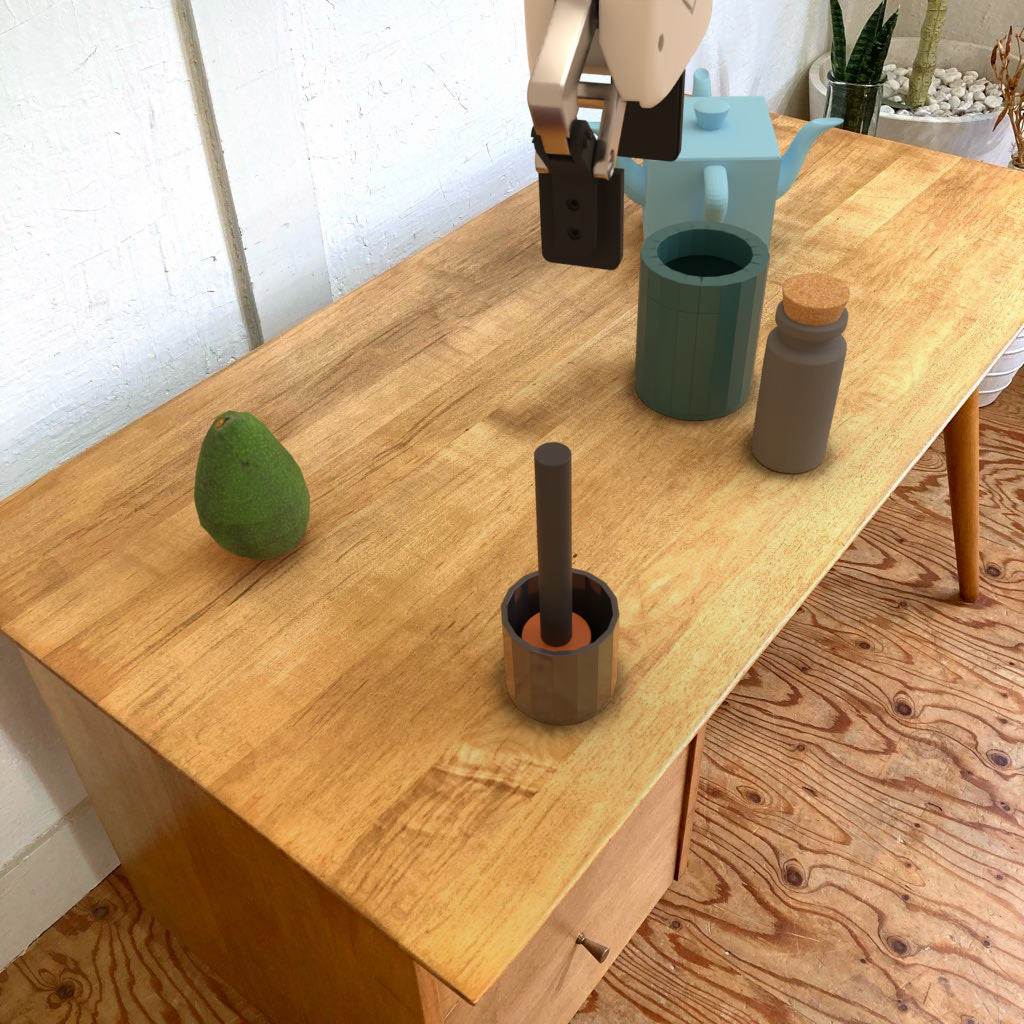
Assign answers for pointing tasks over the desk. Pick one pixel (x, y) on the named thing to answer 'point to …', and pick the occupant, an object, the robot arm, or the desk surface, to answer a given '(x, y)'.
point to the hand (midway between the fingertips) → (616, 205)
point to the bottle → (801, 374)
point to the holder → (561, 653)
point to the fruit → (249, 489)
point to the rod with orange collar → (555, 554)
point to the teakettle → (720, 165)
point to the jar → (699, 318)
